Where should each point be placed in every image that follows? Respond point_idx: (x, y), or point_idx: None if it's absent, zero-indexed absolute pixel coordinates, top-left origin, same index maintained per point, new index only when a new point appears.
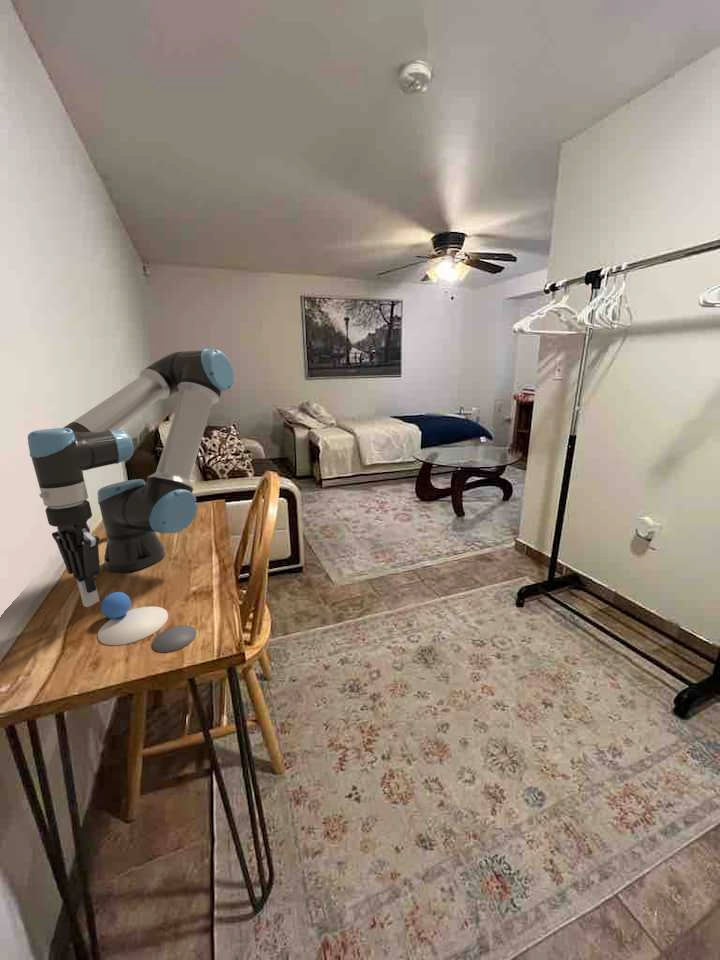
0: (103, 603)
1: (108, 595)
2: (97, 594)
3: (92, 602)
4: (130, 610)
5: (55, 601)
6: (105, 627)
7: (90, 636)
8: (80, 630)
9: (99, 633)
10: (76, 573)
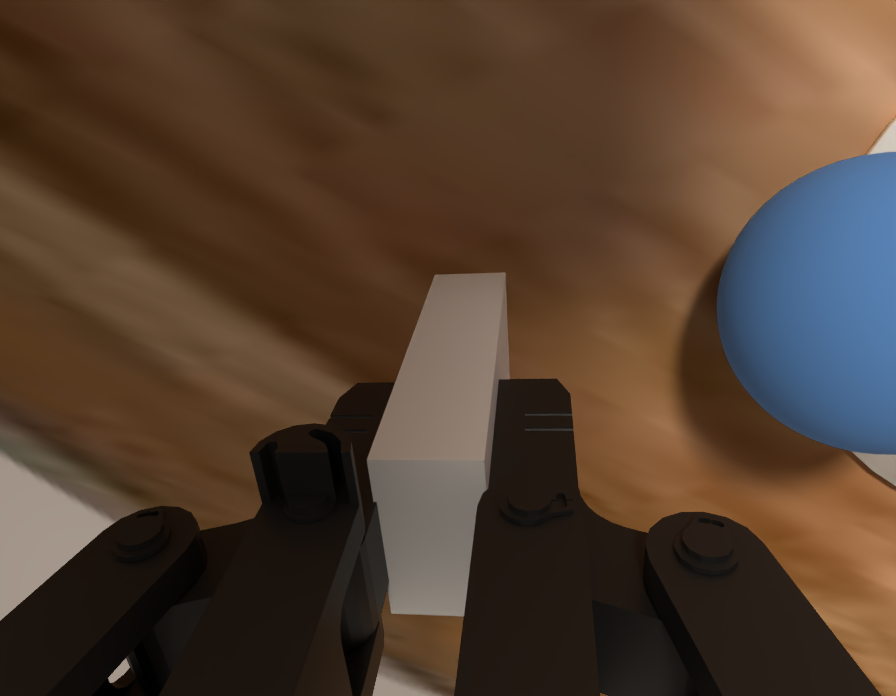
0: (867, 451)
1: (881, 405)
2: (500, 310)
3: (507, 346)
4: (882, 148)
5: (13, 342)
6: None
7: (830, 498)
8: (670, 483)
9: (891, 469)
10: (368, 684)
